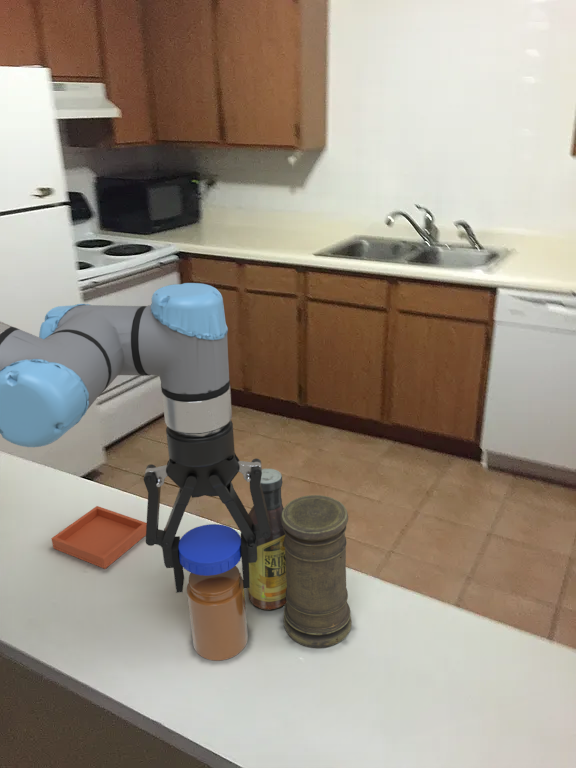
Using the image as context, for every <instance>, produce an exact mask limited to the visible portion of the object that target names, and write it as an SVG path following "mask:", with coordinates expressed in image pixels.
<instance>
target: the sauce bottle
mask: <svg viewBox="0 0 576 768" xmlns="http://www.w3.org/2000/svg"><path fill="white" fill-rule="evenodd" d="M261 486H262V490H263V494H264V498H265V503H266V507H267V511H268V516H269V520H270V530H271V536H270V537H269V538H267V539H264V538H260V539H259V540H258V541H257V561H256V562H255V563H249V582H250V588H247V591H248V598H249V600H250V602H251V604H252V605H253V606H255V607H256V608H259V609H261V610H266V611H267V610H268V611H269V610H276V609H279V608H281V607H283V606H285V605H286V603H287V599H286V588H287V579H286V560H285V547H284V538H285V532H284V529H283V526H282V523H281V514H282V511H283V509H284V505H283V498H282V488H283V487H282V486H283V474H282V473H281V472H280V471H279V470H277V469H274V468H262V476H261ZM248 514H249V516H250V518H251V520H252V521H253V523H254V525H255V524H258V521H257V517H256V513H255V509H254V505H253V506H252V507H251V508H250V510H249V512H248Z"/></svg>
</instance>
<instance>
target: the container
mask: <svg viewBox="0 0 576 768" xmlns="http://www.w3.org/2000/svg"><path fill="white" fill-rule="evenodd" d="M283 508H284V509H283V511H282V514H281V523H282V526H283V529H284V532H285V538H284V547H285V560H286V579H287V588H286V599H287V603H286V604H285V605H284V609H283V614H284V615H283V626H284V629H285V631H286V633H287V634H288V636H289V637H290V638H291V639H292V640H293V641H294V642H296V643H297V644H299V645H301V646H305V647H307V648H309V647H310V648H313V649H317V648H319V649H321V648H328V647H331V646H332V647H333V646H335V645H337V644H339V643H340V642H342V641H344V640H345V639H346V637H348V635H349V633H350V631H351V628H352V615H351V608H350V607H351V606H350V605H349V603H348V598H349V591H348V588H347V543H348V542H347V538H346V531H347V525H348V522H349V513H348V510H347V508H346V506H345V505H344V504H343V503H342V502H341V501H339V500H337V499H335V498H333V497H330V496H328V495H327V496H326V495H320V494H319V495H318V494H310V495H309V494H308V495H303V496H300V497H297V498H294V499H293V500H291V501H289V502H288V503H287V504H286V505H285V506H283Z"/></svg>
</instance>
